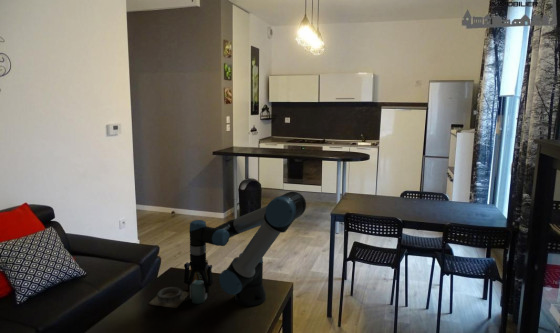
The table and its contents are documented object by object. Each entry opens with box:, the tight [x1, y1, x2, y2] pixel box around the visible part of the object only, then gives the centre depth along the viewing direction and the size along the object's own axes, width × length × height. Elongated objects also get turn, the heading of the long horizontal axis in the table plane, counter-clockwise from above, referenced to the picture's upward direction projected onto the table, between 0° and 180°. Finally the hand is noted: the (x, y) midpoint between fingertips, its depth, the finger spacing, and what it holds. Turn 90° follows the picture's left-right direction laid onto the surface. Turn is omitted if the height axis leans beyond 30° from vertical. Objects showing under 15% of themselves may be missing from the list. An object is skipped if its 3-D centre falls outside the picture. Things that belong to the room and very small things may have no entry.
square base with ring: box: [148, 286, 190, 309], centre depth 184 cm, size 14×14×4 cm
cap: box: [191, 280, 206, 305], centre depth 183 cm, size 6×6×10 cm
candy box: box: [189, 259, 209, 282], centre depth 193 cm, size 9×4×15 cm, turn 103°
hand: (198, 297), depth 183 cm, fingers closed on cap, 6 cm apart
